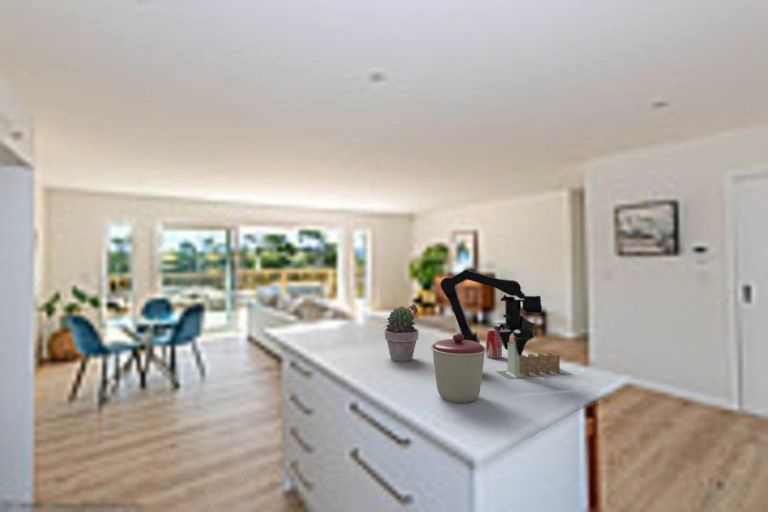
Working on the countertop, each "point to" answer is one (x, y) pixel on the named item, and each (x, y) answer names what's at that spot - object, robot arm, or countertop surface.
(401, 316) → the potted plant
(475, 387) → the canister
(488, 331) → the soda can
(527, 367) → the tile
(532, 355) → the tile
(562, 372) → the domino mat
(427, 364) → the countertop surface
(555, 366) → the end tile
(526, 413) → the countertop surface
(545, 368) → the tile
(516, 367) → the tile
